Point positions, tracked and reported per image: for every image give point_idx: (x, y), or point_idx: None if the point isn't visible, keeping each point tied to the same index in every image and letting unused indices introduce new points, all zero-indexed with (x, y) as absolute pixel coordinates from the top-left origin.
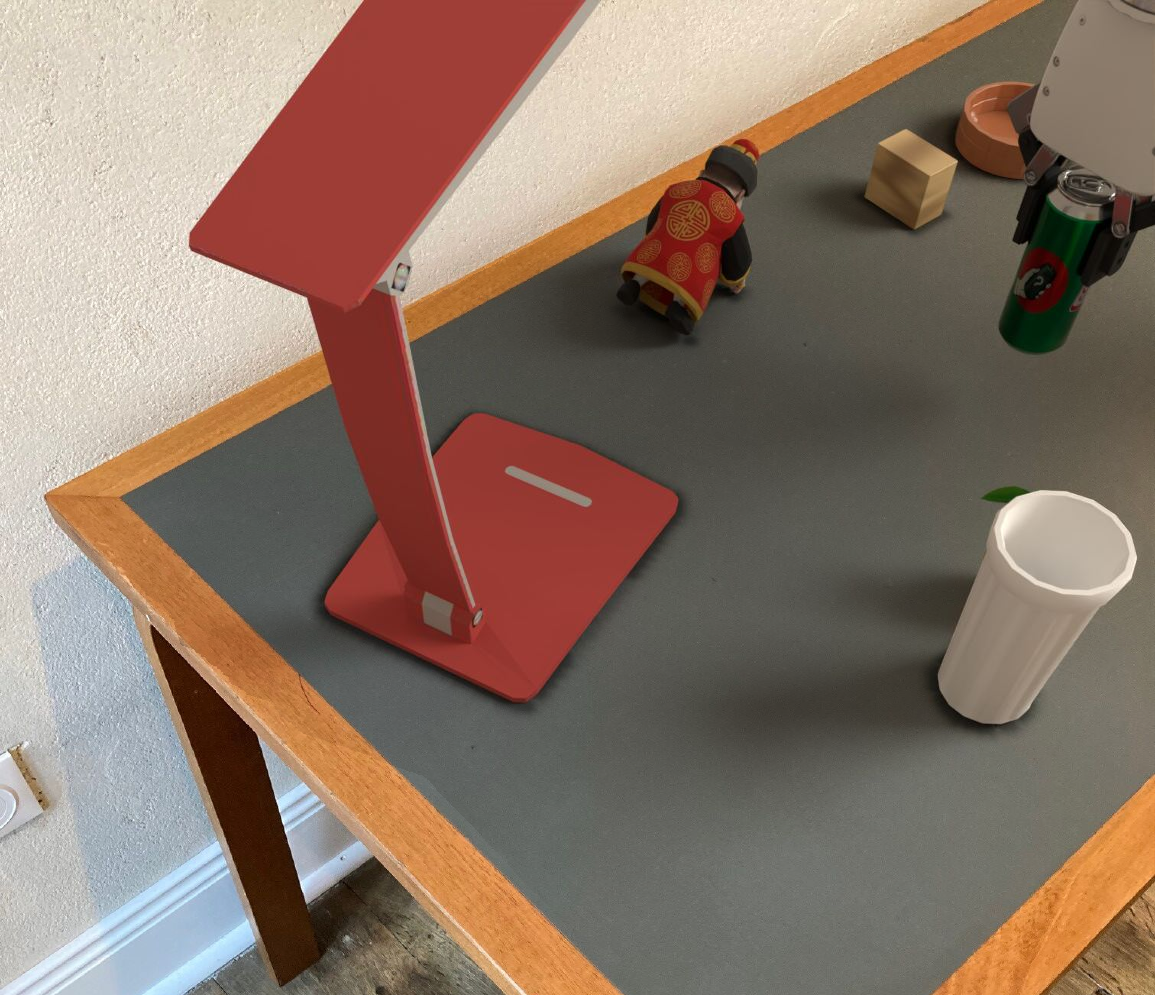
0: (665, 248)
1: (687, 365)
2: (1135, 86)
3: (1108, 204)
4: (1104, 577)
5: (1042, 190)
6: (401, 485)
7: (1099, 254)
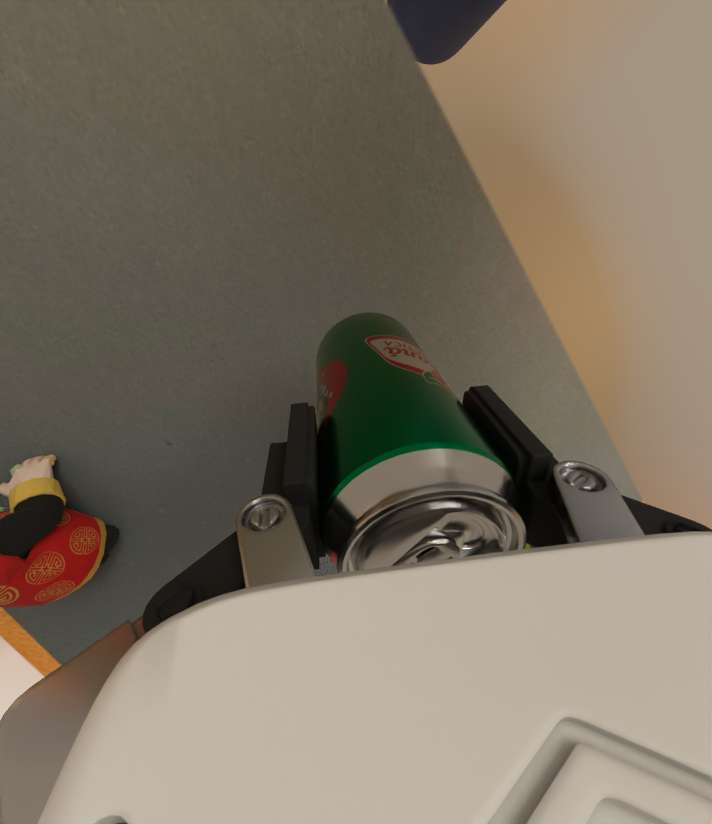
0: (23, 604)
1: (154, 535)
2: None
3: None
4: None
5: (317, 547)
6: None
7: None
